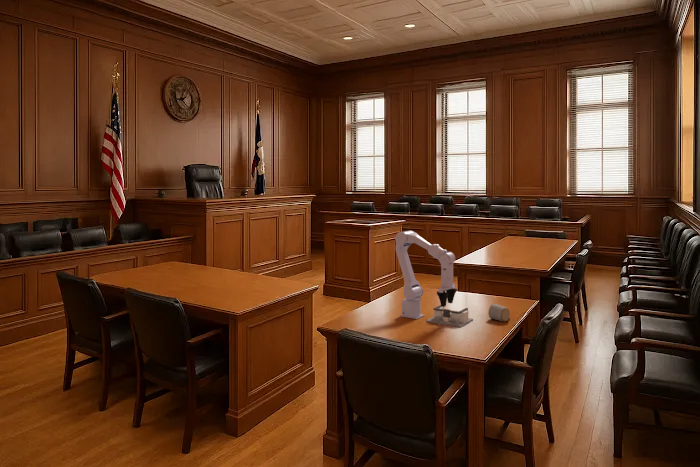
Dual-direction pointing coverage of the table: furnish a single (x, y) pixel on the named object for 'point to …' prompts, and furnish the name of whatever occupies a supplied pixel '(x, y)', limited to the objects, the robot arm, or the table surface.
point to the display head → (447, 321)
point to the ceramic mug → (499, 312)
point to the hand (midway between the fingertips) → (446, 304)
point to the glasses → (447, 313)
